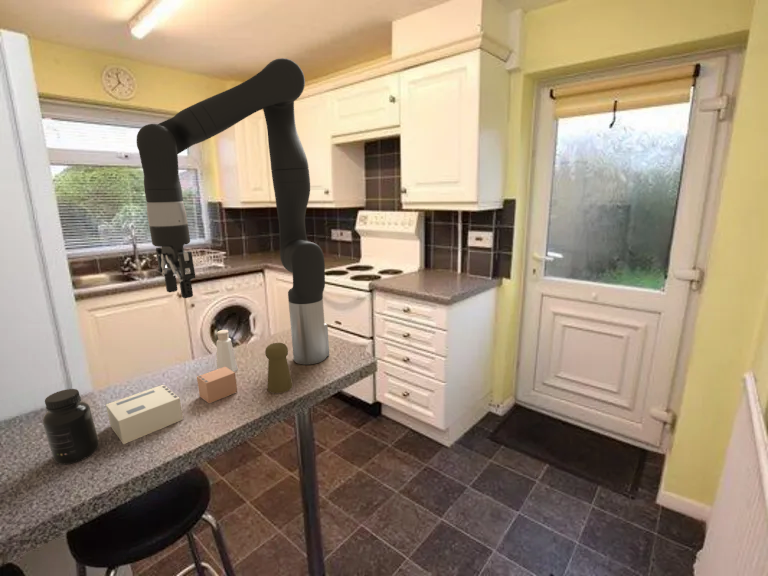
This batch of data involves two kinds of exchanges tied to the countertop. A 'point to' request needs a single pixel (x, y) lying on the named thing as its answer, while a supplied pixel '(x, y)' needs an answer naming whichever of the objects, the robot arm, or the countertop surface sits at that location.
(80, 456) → the supplement bottle
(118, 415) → the cream box
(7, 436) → the countertop surface
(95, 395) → the countertop surface
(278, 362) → the brown pawn
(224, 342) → the salt shaker
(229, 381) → the orange box
